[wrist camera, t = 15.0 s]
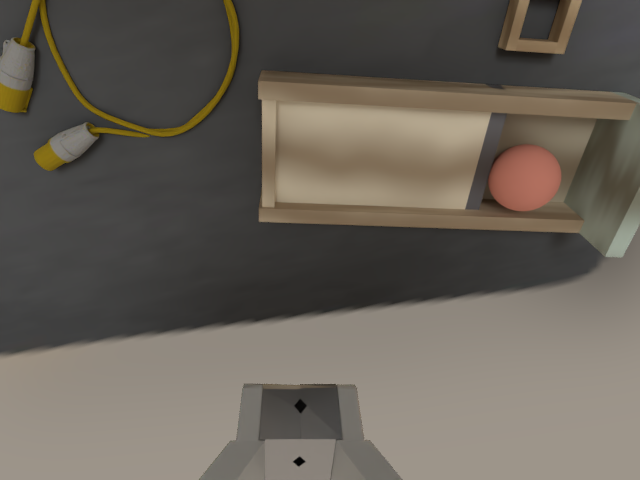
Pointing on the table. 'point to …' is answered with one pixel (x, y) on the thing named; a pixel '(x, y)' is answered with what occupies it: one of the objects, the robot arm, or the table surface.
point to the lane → (444, 154)
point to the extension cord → (15, 91)
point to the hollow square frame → (554, 44)
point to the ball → (524, 177)
